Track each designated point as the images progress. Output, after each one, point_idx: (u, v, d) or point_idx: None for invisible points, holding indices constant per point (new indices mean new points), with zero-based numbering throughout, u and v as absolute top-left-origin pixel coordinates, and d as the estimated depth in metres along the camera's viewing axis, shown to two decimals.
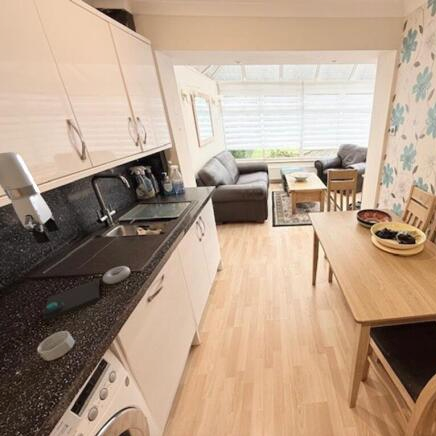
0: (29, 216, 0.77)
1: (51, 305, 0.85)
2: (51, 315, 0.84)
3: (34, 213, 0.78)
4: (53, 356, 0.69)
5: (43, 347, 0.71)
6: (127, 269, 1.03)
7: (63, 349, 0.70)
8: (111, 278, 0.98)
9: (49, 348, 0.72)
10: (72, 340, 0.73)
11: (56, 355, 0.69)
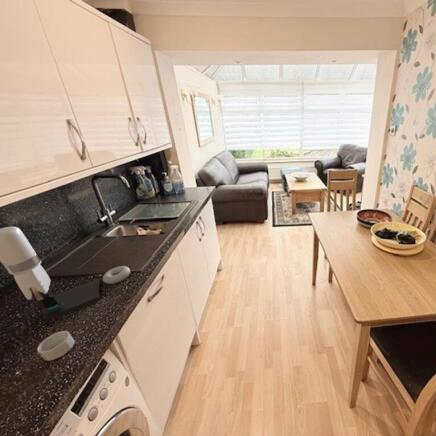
0: (36, 290, 0.78)
1: None
2: (51, 315, 0.84)
3: (38, 284, 0.77)
4: (53, 356, 0.69)
5: (43, 347, 0.71)
6: (127, 269, 1.03)
7: (63, 349, 0.70)
8: (111, 278, 0.98)
9: (49, 348, 0.72)
10: (72, 340, 0.73)
11: (56, 355, 0.69)
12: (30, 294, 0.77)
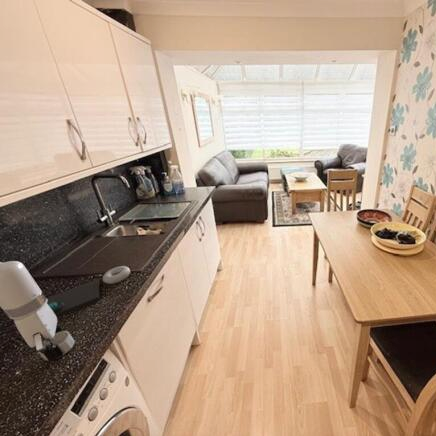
0: (38, 335, 0.64)
1: (51, 305, 0.85)
2: None
3: (43, 329, 0.64)
4: None
5: None
6: (127, 269, 1.03)
7: (63, 349, 0.70)
8: (111, 278, 0.98)
9: None
10: (72, 340, 0.73)
11: None
12: (34, 341, 0.64)
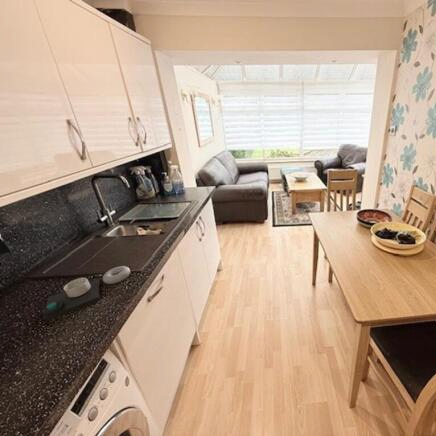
0: None
1: (51, 305, 0.85)
2: (51, 315, 0.84)
3: None
4: (75, 294, 0.90)
5: (67, 288, 0.92)
6: (127, 269, 1.03)
7: (83, 289, 0.92)
8: (111, 278, 0.98)
9: None
10: (89, 284, 0.95)
11: (78, 293, 0.91)
12: None
